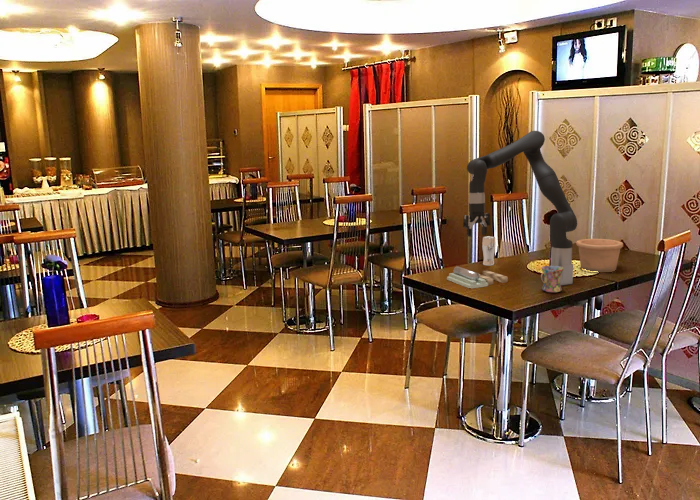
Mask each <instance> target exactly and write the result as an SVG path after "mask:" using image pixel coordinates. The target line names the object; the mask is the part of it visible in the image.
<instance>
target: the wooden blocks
mask: <svg viewBox="0 0 700 500" xmlns="http://www.w3.org/2000/svg"><path fill="white" fill-rule="evenodd" d="M478 274H479V278H481V279H484V280H486V282H487V283H488V286H490V285H494V281H495V282H499V283H502V284H504V283H508V281H509V278H508V276H506V275H503V274H500V273H497V272H493V271H491V270H483V271H482V274H480V273H478Z"/></svg>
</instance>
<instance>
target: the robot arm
mask: <svg viewBox="0 0 700 500" xmlns="http://www.w3.org/2000/svg"><path fill="white" fill-rule="evenodd" d="M545 140H546V138H545V134H544V133H542V132H541V131H540V130H532V131H530V132H528V133H527V134H525V135H524V136H521V138H518V139H517V140H516V141H513V142H512V143H509V144H507V145H506V146H503V147H502V148H499V149H497V150H494V151H493V152H490V153H488V154H486V155H483V156H480V157H476V158H474V159H472V160H470V161H468V163H467V165H466V170H467V172H468V173H469V174H470V175H472V178H471V179H472V180H471V181H469V186H468V187H469V189H468V190H469V193H468V194H469V195H468V212H469V213H468V214H469V215H468V214H464V215H463V220H462V222H463V224H462V227H463V228H464V229H465V228H466V235H467V237H469V238H470V237H472V236H473V235H472V231H473V230H472V228H473V226H474V225H475V224H480V225H481V235H483V236H485V235H486V234H487V227H488V226H490V225H491V214H490V212H489V213H488V212H485V211H486V195H485V182H486V179H487V178H486V177H487V171H488V169H494V168H496V167H499V166H501V165H503V164H505V163H507V162H509V161H511V160H512V159H513V158H515V157H516V156H518V155H519V154H521V153H523V154H524V156H525V158H526V159H527V161H528V163H529V166H530V168H531V169H532V172H533V175H534V178H535V181H536V183H537V186H538V188H539V191H540V192H541V194H542V195H543V196H544V197H545V198H546V199H547V200H548V201H549V202H550V204H551V203H552V205H553V207H554V208H555V210H556V211H557V213H554V214H552V215H551V217H550V220H549V239H550V244H551V246H550V248H551V250H550V266H559V267H562V268H564V269H563V271H562V274H561V277H560V286H567V285H573V278H574V263H573V246H574V245H573V241H572V240H571V239H568V238H567V232H569V233H570V232H573V231H575V230H576V229H577V227H578V219H577V216H576V214H575V212H574V210H573V209H572V207H571V204H570V203H569V202H568V201H569V200H568V199H567V196H566V195H565V192H564V190H563V189H562V185H561V184H560V180H559V178H558V175H557V174H556V172H555V170H554V169H553V168H552V167H551V166H550V165H549V164H548V163H547V162H546V161H545V159H544V157H543V154H542V151H541V149H542V147H543V145H544V144H545ZM486 236H487V235H486Z"/></svg>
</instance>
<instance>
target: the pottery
mask: <svg viewBox="0 0 700 500" xmlns="http://www.w3.org/2000/svg"><path fill="white" fill-rule="evenodd" d="M576 246H577V247H578V252H579V253H578V255H579V264H580V269H581V268H583V269H586V270H590V271H598V272H612V271H615V270H616V271H617V267H618V261H619V256H620V252H621V249H622V248H623V247H624V243H623V242H622V241H619V240H614V239H608V238H607V239H606V238H582V239H578V240H577V241H576ZM616 271H615V272H616ZM612 273H613V272H612Z"/></svg>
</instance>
